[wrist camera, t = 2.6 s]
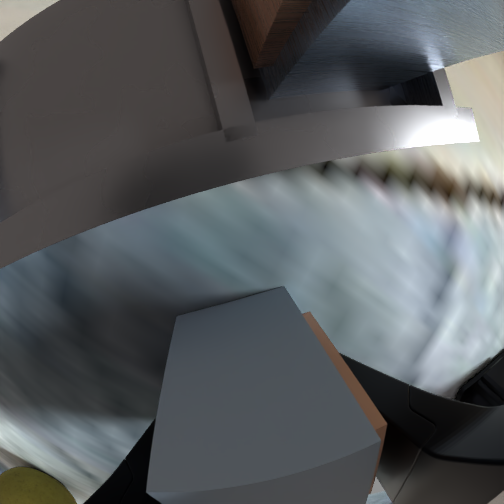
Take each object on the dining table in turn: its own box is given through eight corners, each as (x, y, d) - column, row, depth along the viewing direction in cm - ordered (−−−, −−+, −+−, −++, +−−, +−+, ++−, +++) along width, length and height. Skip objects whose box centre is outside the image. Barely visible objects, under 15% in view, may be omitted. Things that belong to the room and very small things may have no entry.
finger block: (316, 389, 10) (374, 509, 4) (223, 415, 10) (239, 546, 4) (296, 282, 9) (405, 427, 3) (176, 315, 8) (146, 492, 3)
